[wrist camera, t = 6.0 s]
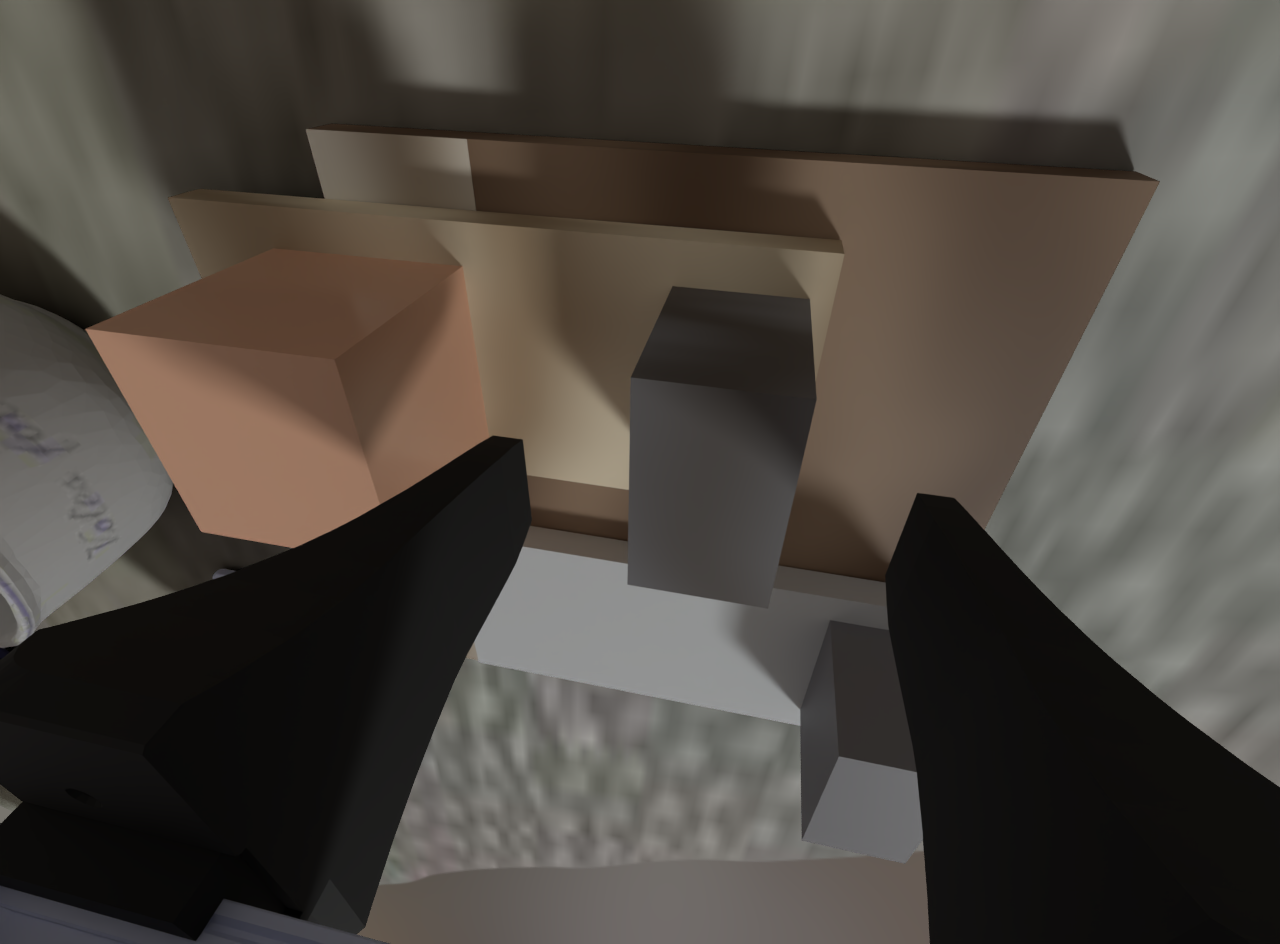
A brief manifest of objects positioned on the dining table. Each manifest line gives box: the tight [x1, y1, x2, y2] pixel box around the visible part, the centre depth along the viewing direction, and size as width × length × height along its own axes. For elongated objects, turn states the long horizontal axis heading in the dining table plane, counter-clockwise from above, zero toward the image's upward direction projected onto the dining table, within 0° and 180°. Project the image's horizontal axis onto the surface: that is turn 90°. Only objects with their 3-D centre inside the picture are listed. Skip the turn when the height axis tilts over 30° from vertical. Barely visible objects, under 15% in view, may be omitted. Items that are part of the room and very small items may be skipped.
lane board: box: [306, 124, 1160, 660], centre depth 19 cm, size 18×20×1 cm
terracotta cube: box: [86, 248, 489, 548], centre depth 14 cm, size 5×5×5 cm
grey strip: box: [474, 526, 923, 863], centre depth 19 cm, size 16×7×5 cm, turn 89°
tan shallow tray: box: [168, 189, 845, 609], centre depth 14 cm, size 16×7×5 cm, turn 89°
